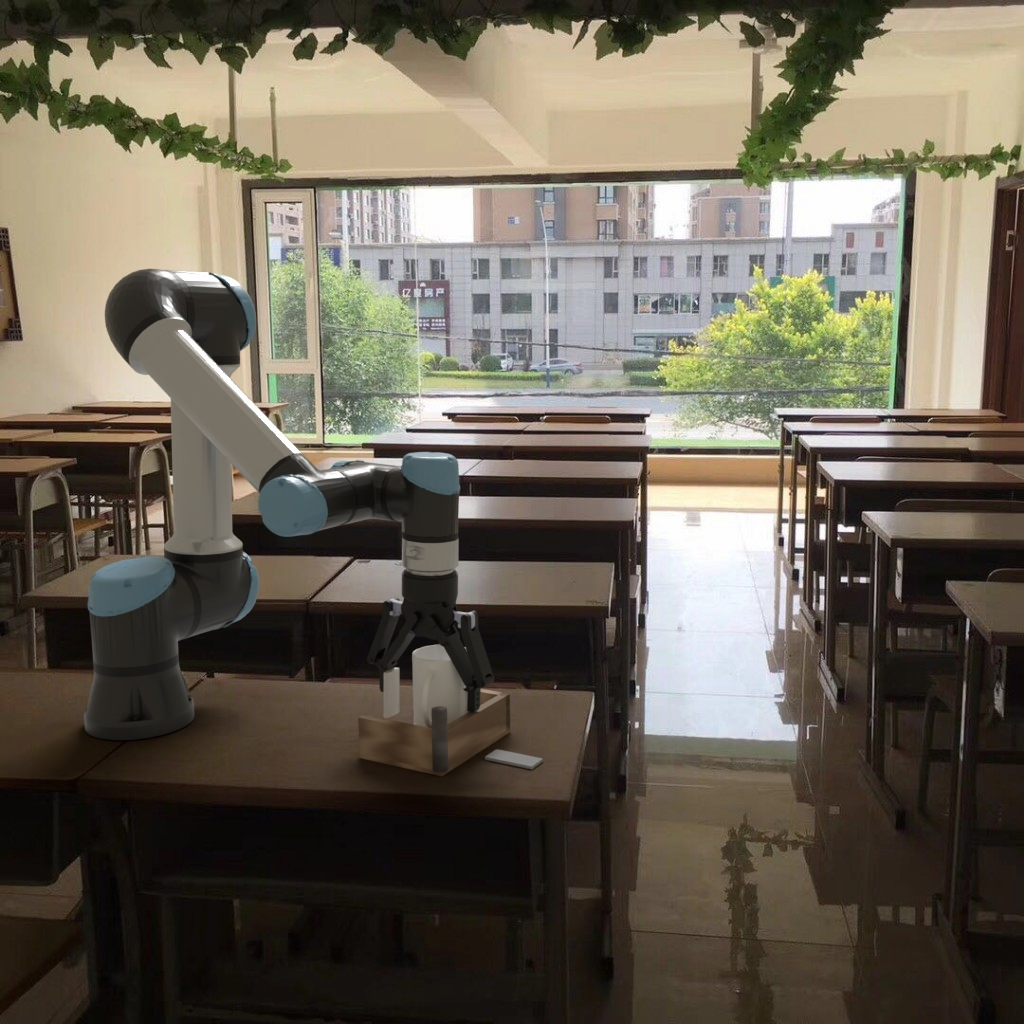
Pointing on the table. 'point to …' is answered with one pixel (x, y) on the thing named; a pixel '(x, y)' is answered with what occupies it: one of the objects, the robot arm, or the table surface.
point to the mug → (434, 684)
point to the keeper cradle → (436, 736)
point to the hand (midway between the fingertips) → (428, 724)
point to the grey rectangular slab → (514, 759)
